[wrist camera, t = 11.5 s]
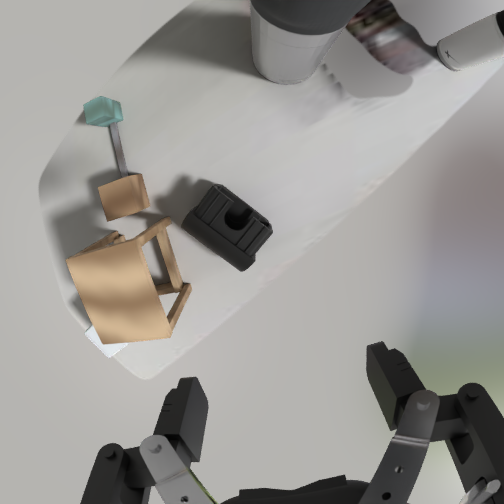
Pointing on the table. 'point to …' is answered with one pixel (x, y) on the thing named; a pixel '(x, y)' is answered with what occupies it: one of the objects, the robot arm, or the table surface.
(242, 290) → the table surface
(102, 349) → the product box
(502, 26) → the travel mug
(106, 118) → the corded block
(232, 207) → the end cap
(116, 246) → the shelf lane
